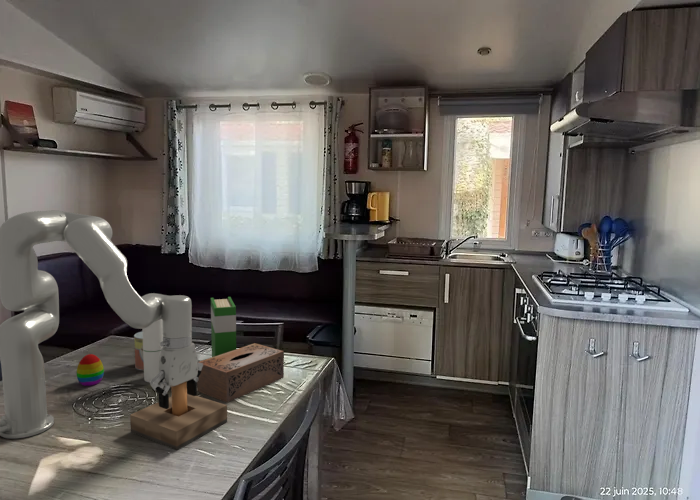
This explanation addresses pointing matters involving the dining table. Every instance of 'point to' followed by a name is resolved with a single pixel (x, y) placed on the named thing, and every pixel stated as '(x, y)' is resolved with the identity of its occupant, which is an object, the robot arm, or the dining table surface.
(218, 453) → the dining table surface
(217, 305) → the hardback book
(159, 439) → the block
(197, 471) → the dining table surface
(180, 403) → the pin
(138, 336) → the canned food
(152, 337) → the cylindrical container
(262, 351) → the tissue box cover
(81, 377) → the decorative egg
